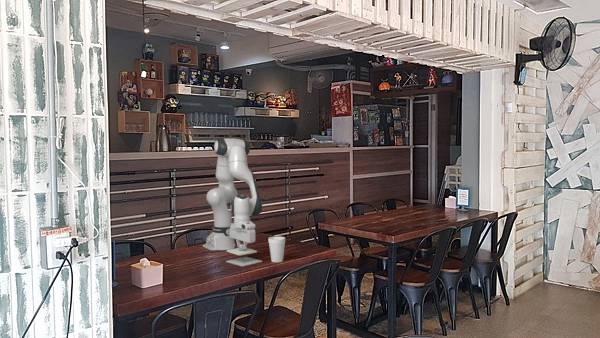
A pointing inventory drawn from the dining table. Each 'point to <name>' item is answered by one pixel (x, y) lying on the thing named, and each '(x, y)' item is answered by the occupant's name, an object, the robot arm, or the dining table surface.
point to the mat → (244, 261)
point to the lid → (241, 250)
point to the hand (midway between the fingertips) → (241, 248)
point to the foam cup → (276, 248)
